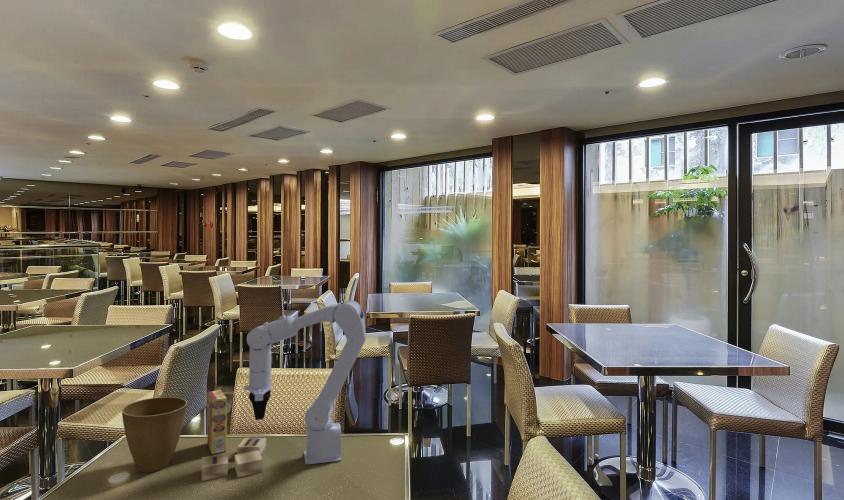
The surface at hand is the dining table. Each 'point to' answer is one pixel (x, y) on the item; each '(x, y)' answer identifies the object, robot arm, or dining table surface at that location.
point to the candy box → (216, 421)
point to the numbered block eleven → (252, 445)
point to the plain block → (248, 463)
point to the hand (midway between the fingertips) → (259, 418)
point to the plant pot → (153, 430)
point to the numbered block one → (214, 466)
